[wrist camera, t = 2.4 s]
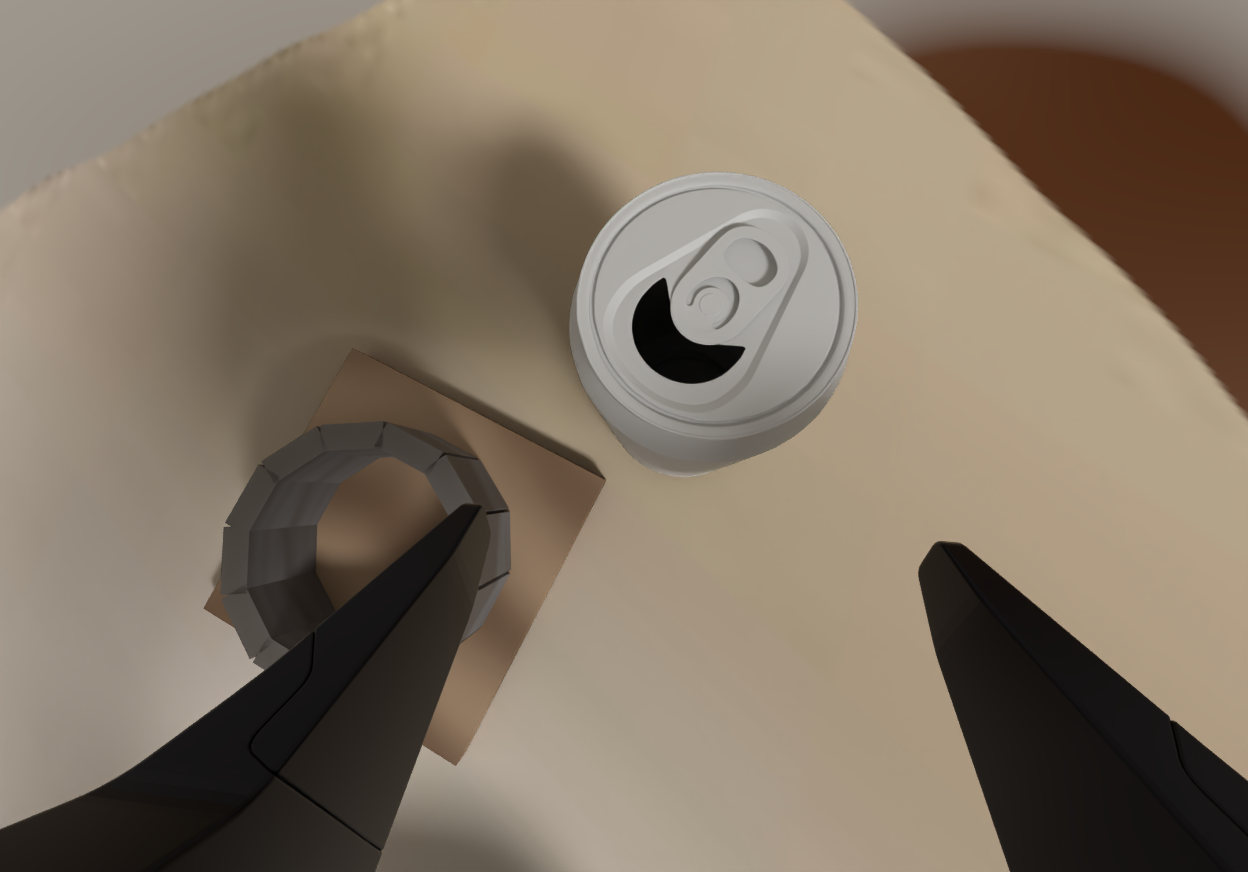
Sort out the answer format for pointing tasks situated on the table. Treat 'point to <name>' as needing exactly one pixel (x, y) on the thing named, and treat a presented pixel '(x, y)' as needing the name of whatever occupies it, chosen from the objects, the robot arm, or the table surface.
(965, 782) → the table surface
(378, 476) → the can holder
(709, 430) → the beverage can
